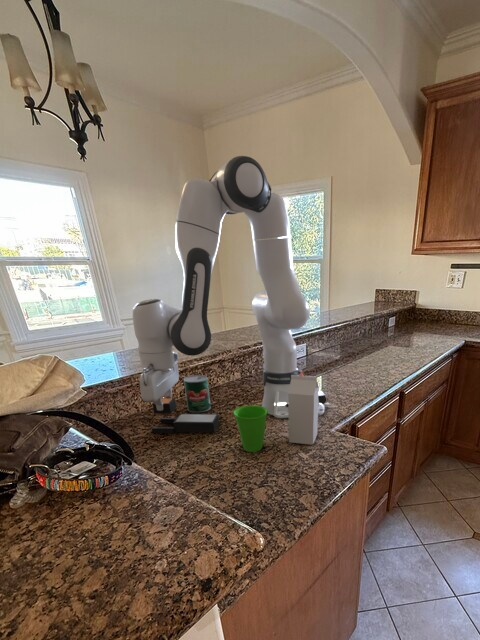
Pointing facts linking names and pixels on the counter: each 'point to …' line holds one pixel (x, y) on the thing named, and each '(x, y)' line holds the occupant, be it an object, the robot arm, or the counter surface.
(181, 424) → the dark grey stepped block
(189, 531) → the counter surface
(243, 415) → the cup
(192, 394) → the canned tomato
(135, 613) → the counter surface
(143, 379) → the robot arm
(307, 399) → the milk carton
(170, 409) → the orange topped grey block
